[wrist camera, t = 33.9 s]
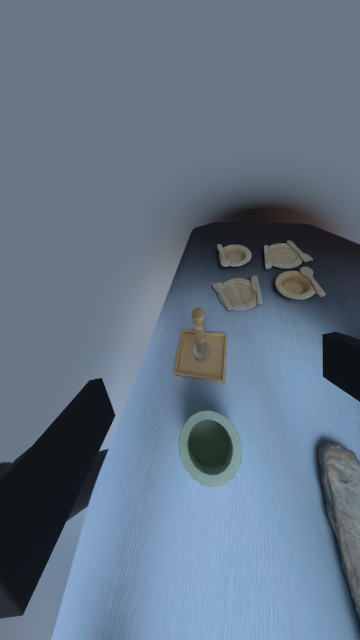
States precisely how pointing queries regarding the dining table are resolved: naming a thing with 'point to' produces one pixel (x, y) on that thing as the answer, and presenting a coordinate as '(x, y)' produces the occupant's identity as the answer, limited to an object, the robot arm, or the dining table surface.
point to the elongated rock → (344, 508)
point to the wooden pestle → (200, 336)
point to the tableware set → (283, 256)
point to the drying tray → (206, 370)
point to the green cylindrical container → (210, 448)
